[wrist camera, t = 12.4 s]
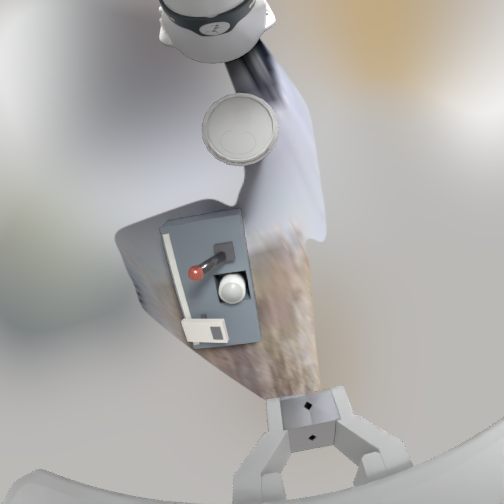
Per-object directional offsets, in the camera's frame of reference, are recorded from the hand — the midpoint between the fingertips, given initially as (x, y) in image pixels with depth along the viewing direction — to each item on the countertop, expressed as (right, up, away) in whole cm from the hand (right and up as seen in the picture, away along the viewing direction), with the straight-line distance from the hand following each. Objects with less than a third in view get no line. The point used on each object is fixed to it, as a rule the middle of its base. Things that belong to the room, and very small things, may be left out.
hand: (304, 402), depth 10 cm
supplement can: (-4, +23, +31) cm, 39 cm away
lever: (-6, +6, +30) cm, 31 cm away
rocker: (-9, -7, +34) cm, 36 cm away
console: (-8, +2, +39) cm, 39 cm away
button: (-5, +1, +36) cm, 36 cm away
